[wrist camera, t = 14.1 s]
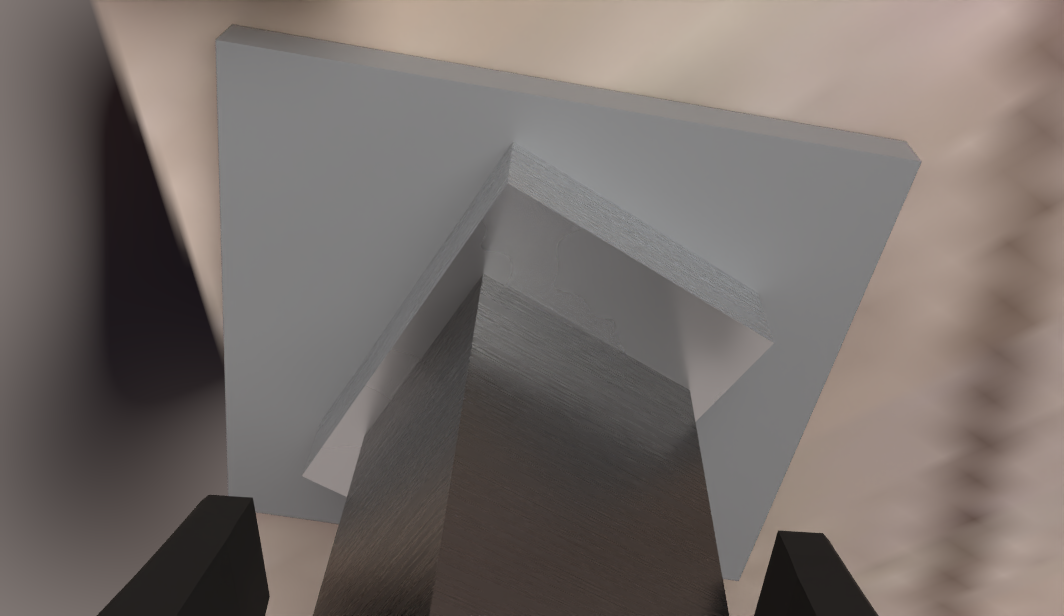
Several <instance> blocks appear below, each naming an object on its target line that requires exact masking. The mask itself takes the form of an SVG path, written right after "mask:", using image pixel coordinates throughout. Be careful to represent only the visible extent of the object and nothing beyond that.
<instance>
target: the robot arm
mask: <svg viewBox="0 0 1064 616" xmlns="http://www.w3.org/2000/svg"><path fill="white" fill-rule="evenodd" d="M269 597H270V596H269V590H268V584H267V578H266V572H265V566H264V560H263V554H262V548H261V542H260V537H259V531H258V525H257V519H256V513H255V507H254V501H253V498H251V497H236V496H219V495H208V496H207V497H206V498H204V499H203V500H202V501H201V502H200V503H199V504H198V505H197V507H196V508H195V509H194V510H193V511H192V512H191V514H190V515H189V516H188V517H187V518H186V519H185V521H184V522H183V523H182V524H181V525H180V526H179V527H178V528H177V530H176V531H175V532H174V533H173V534H172V535H171V536H170V538H169V539H168V540H167V541H166V542H165V543H164V544H163V545H162V546H161V547H160V549H159V550H158V551H157V552H156V553H155V554H154V555H153V556H152V557H151V559H150V560H149V561H148V562H147V563H146V564H145V565H144V566H143V567H142V568H141V570H140V571H139V572H138V573H137V574H136V575H135V576H134V577H133V578H132V579H131V580H130V582H129V583H128V584H127V585H126V586H125V587H124V588H123V589H122V590H121V591H120V592H119V593H118V594H117V595H116V596H115V597H114V598H113V599H112V600H111V601H110V603H109V604H108V605H107V606H106V607H105V608H104V609H103V610H102V611H101V612H100V613H99V614H98V615H97V616H265V613H266V609H267V605H268V601H269ZM754 616H878V614H877V613H876V611H875V610H874V608H873V607H872V606H871V604H870V603H869V601H868V600H867V598H866V597H865V595H864V594H863V592H862V591H861V589H860V588H859V586H858V585H857V583H856V582H855V580H854V578H853V577H852V575H851V574H850V572H849V571H848V569H847V568H846V566H845V565H844V563H843V561H842V560H841V558H840V557H839V555H838V554H837V552H836V551H835V549H834V547H833V546H832V544H831V543H830V541H829V540H828V539H827V538H826V536H825V535H824V534H823V533H808V532H792V531H778V533H777V536H776V540H775V544H774V547H773V551H772V554H771V558H770V561H769V565H768V568H767V572H766V576H765V579H764V583H763V586H762V590H761V593H760V597H759V600H758V604H757V607H756V611H755V615H754Z"/></svg>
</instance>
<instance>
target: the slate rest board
mask: <svg viewBox="0 0 1064 616" xmlns="http://www.w3.org/2000/svg"><path fill="white" fill-rule="evenodd" d="M216 75H217V111H218V147H219V184H220V220H221V256H222V292H223V329H224V365H225V398H226V400H225V401H226V435H227V436H226V437H227V472H228V496H236V497H251V498H253V501H254V507H255V512H257V513H264V514H271V515H278V516H285V517H292V518H299V519H306V520H314V521H321V522H328V523H335V524H339V523H340V519H341V516H342V512H343V509H344V505H345V502H346V498H347V497H346V496H344V495H341V494H339V493H337V492H335V491H333V490H331V489H328V488H326V487H324V486H322V485H320V484H318V483H316V482H313V481H311V480H309V479H307V478H305V477H303V476H302V474H303V471H304V468H305V466H306V463H307V460H308V457H309V454H310V451H311V449H312V446H313V443H314V440H315V437H316V434H317V432H318V429H319V426H320V423H321V421H322V420H323V418H324V417H325V415H326V414H327V412H328V411H329V409H330V408H331V406H332V405H333V404H334V402H335V401H336V399H337V398H338V396H339V395H340V393H341V392H342V390H343V389H344V388H345V386H346V385H347V383H348V382H349V380H350V379H351V377H352V376H353V374H354V373H355V372H356V370H357V369H358V367H359V366H360V364H361V363H362V361H363V360H364V358H365V357H366V355H367V354H368V353H369V351H370V350H371V348H372V347H373V345H374V344H375V342H376V341H377V339H378V338H379V337H380V335H381V334H382V332H383V331H384V329H385V328H386V326H387V325H388V323H389V322H390V321H391V319H392V318H393V316H394V315H395V313H396V312H397V310H398V309H399V307H400V306H401V304H402V303H403V302H404V300H405V299H406V297H407V296H408V294H409V293H410V291H411V290H412V288H413V287H414V286H415V284H416V283H417V281H418V280H419V278H420V277H421V275H422V274H423V272H424V271H425V269H426V268H427V267H428V265H429V264H430V262H431V261H432V259H433V258H434V256H435V255H436V253H437V252H438V251H439V249H440V248H441V246H442V245H443V243H444V242H445V240H446V239H447V237H448V236H449V235H450V233H451V232H452V230H453V229H454V227H455V226H456V224H457V223H458V221H459V220H460V218H461V217H462V216H463V214H464V213H465V211H466V210H467V208H468V207H469V205H470V204H471V202H472V201H473V200H474V198H475V197H476V195H477V194H478V192H479V191H480V189H481V188H482V186H483V185H484V183H485V182H486V181H487V179H488V178H489V176H490V175H491V173H492V172H493V170H494V169H495V167H496V166H497V165H498V163H499V162H500V160H501V159H502V157H503V156H504V154H505V153H506V151H507V150H508V149H509V147H510V146H511V144H512V143H513V142H515V143H516V144H518V145H520V146H521V147H523V148H524V149H526V150H528V151H529V152H531V153H533V154H534V155H536V156H537V157H539V158H541V159H542V160H544V161H546V162H547V163H549V164H550V165H552V166H554V167H555V168H557V169H558V170H560V171H562V172H563V173H565V174H567V175H568V176H570V177H571V178H573V179H575V180H576V181H578V182H580V183H581V184H583V185H584V186H586V187H588V188H589V189H591V190H592V191H594V192H596V193H597V194H599V195H601V196H602V197H604V198H605V199H607V200H609V201H610V202H612V203H614V204H615V205H617V206H618V207H620V208H622V209H623V210H625V211H626V212H628V213H630V214H631V215H633V216H635V217H636V218H638V219H639V220H641V221H643V222H644V223H646V224H648V225H649V226H651V227H652V228H654V229H656V230H657V231H659V232H660V233H662V234H664V235H665V236H667V237H669V238H670V239H672V240H673V241H675V242H677V243H678V244H680V245H682V246H683V247H685V248H686V249H688V250H690V251H691V252H693V253H694V254H696V255H698V256H699V257H701V258H703V259H704V260H706V261H707V262H709V263H711V264H712V265H714V266H716V267H717V268H719V269H720V270H722V271H724V272H725V273H727V274H728V275H730V276H732V277H733V278H735V279H737V280H738V281H740V282H741V283H743V284H745V285H746V286H748V287H750V288H751V289H753V290H754V291H756V292H758V294H759V298H760V301H761V304H762V307H763V310H764V313H765V316H766V320H767V323H768V326H769V329H770V332H771V335H772V338H773V341H774V344H773V345H772V346H771V347H770V348H769V349H768V350H767V351H766V352H765V353H764V354H763V355H762V356H761V357H760V358H759V359H758V360H757V361H756V362H755V363H754V364H753V365H752V366H751V367H750V368H749V369H748V370H747V371H746V372H745V373H744V374H743V375H742V376H741V377H740V378H739V379H738V380H737V381H736V382H735V383H734V384H733V385H732V386H731V387H730V388H729V389H728V390H727V391H726V392H725V393H724V394H723V395H722V396H721V397H720V398H719V399H718V400H717V401H716V402H715V403H714V404H713V405H712V406H711V407H710V408H709V409H708V410H707V411H706V412H705V413H704V414H703V415H702V416H701V417H700V418H699V419H698V420H697V421H696V428H697V434H698V440H699V445H700V451H701V457H702V463H703V468H704V474H705V480H706V486H707V491H708V497H709V503H710V509H711V515H712V520H713V526H714V532H715V538H716V543H717V549H718V555H719V561H720V566H721V572H722V578H723V579H728V580H735V581H739V579H740V577H741V574H742V572H743V570H744V568H745V565H746V563H747V561H748V558H749V556H750V554H751V551H752V549H753V547H754V545H755V542H756V540H757V538H758V535H759V533H760V531H761V529H762V526H763V524H764V522H765V519H766V517H767V515H768V513H769V510H770V508H771V506H772V503H773V501H774V499H775V496H776V494H777V492H778V490H779V487H780V485H781V483H782V480H783V478H784V476H785V474H786V471H787V469H788V467H789V464H790V462H791V460H792V458H793V455H794V453H795V451H796V448H797V446H798V444H799V442H800V439H801V437H802V435H803V432H804V430H805V428H806V425H807V423H808V421H809V419H810V416H811V414H812V412H813V409H814V407H815V405H816V403H817V400H818V398H819V396H820V393H821V391H822V389H823V387H824V384H825V382H826V380H827V377H828V375H829V373H830V370H831V368H832V366H833V364H834V361H835V359H836V357H837V354H838V352H839V350H840V348H841V345H842V343H843V341H844V338H845V336H846V334H847V332H848V329H849V327H850V325H851V322H852V320H853V318H854V316H855V313H856V311H857V309H858V306H859V304H860V302H861V299H862V297H863V295H864V293H865V290H866V288H867V286H868V283H869V281H870V279H871V277H872V274H873V272H874V270H875V267H876V265H877V263H878V261H879V258H880V256H881V254H882V251H883V249H884V247H885V244H886V242H887V240H888V238H889V235H890V233H891V231H892V228H893V226H894V224H895V222H896V219H897V217H898V215H899V212H900V210H901V208H902V206H903V203H904V201H905V199H906V196H907V194H908V192H909V189H910V187H911V185H912V183H913V180H914V178H915V176H916V173H917V171H918V169H919V167H920V164H921V160H920V159H919V158H918V156H917V155H916V154H915V152H914V151H913V150H912V149H911V147H910V146H909V145H908V143H907V142H906V141H900V140H894V139H889V138H883V137H877V136H871V135H866V134H860V133H854V132H848V131H843V130H837V129H831V128H825V127H820V126H814V125H808V124H802V123H797V122H791V121H785V120H779V119H774V118H768V117H762V116H756V115H750V114H745V113H739V112H733V111H727V110H722V109H716V108H710V107H704V106H699V105H693V104H687V103H681V102H676V101H670V100H664V99H658V98H653V97H647V96H641V95H635V94H630V93H624V92H618V91H612V90H607V89H601V88H595V87H589V86H584V85H578V84H572V83H566V82H561V81H555V80H549V79H543V78H537V77H532V76H526V75H520V74H514V73H509V72H503V71H497V70H491V69H486V68H480V67H474V66H468V65H463V64H457V63H451V62H445V61H440V60H434V59H428V58H422V57H417V56H411V55H405V54H399V53H394V52H388V51H382V50H376V49H371V48H365V47H359V46H353V45H348V44H342V43H336V42H330V41H325V40H319V39H313V38H307V37H301V36H296V35H290V34H284V33H278V32H273V31H267V30H261V29H255V28H250V27H244V26H238V25H231V26H230V27H229V28H228V29H227V30H226V31H225V32H224V33H222V34H221V35H220V36H219V37H218V38H217V39H216Z"/></svg>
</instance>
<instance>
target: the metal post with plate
mask: <svg viewBox="0 0 1064 616" xmlns="http://www.w3.org/2000/svg"><path fill="white" fill-rule="evenodd" d="M773 344H774V341H773V338H772V335H771V332H770V329H769V326H768V323H767V320H766V316H765V313H764V310H763V307H762V304H761V301H760V298H759V294H758V292H756V291H754V290H753V289H751V288H750V287H748V286H746V285H745V284H743V283H741V282H740V281H738V280H737V279H735V278H733V277H732V276H730V275H728V274H727V273H725V272H724V271H722V270H720V269H719V268H717V267H716V266H714V265H712V264H711V263H709V262H707V261H706V260H704V259H703V258H701V257H699V256H698V255H696V254H694V253H693V252H691V251H690V250H688V249H686V248H685V247H683V246H682V245H680V244H678V243H677V242H675V241H673V240H672V239H670V238H669V237H667V236H665V235H664V234H662V233H660V232H659V231H657V230H656V229H654V228H652V227H651V226H649V225H648V224H646V223H644V222H643V221H641V220H639V219H638V218H636V217H635V216H633V215H631V214H630V213H628V212H626V211H625V210H623V209H622V208H620V207H618V206H617V205H615V204H614V203H612V202H610V201H609V200H607V199H605V198H604V197H602V196H601V195H599V194H597V193H596V192H594V191H592V190H591V189H589V188H588V187H586V186H584V185H583V184H581V183H580V182H578V181H576V180H575V179H573V178H571V177H570V176H568V175H567V174H565V173H563V172H562V171H560V170H558V169H557V168H555V167H554V166H552V165H550V164H549V163H547V162H546V161H544V160H542V159H541V158H539V157H537V156H536V155H534V154H533V153H531V152H529V151H528V150H526V149H524V148H523V147H521V146H520V145H518V144H516V143H515V142H513V143H512V144H511V146H510V147H509V149H508V150H507V151H506V153H505V154H504V156H503V157H502V159H501V160H500V162H499V163H498V165H497V166H496V167H495V169H494V170H493V172H492V173H491V175H490V176H489V178H488V179H487V181H486V182H485V183H484V185H483V186H482V188H481V189H480V191H479V192H478V194H477V195H476V197H475V198H474V200H473V201H472V202H471V204H470V205H469V207H468V208H467V210H466V211H465V213H464V214H463V216H462V217H461V218H460V220H459V221H458V223H457V224H456V226H455V227H454V229H453V230H452V232H451V233H450V235H449V236H448V237H447V239H446V240H445V242H444V243H443V245H442V246H441V248H440V249H439V251H438V252H437V253H436V255H435V256H434V258H433V259H432V261H431V262H430V264H429V265H428V267H427V268H426V269H425V271H424V272H423V274H422V275H421V277H420V278H419V280H418V281H417V283H416V284H415V286H414V287H413V288H412V290H411V291H410V293H409V294H408V296H407V297H406V299H405V300H404V302H403V303H402V304H401V306H400V307H399V309H398V310H397V312H396V313H395V315H394V316H393V318H392V319H391V321H390V322H389V323H388V325H387V326H386V328H385V329H384V331H383V332H382V334H381V335H380V337H379V338H378V339H377V341H376V342H375V344H374V345H373V347H372V348H371V350H370V351H369V353H368V354H367V355H366V357H365V358H364V360H363V361H362V363H361V364H360V366H359V367H358V369H357V370H356V372H355V373H354V374H353V376H352V377H351V379H350V380H349V382H348V383H347V385H346V386H345V388H344V389H343V390H342V392H341V393H340V395H339V396H338V398H337V399H336V401H335V402H334V404H333V405H332V406H331V408H330V409H329V411H328V412H327V414H326V415H325V417H324V418H323V420H322V421H321V423H320V426H319V429H318V432H317V434H316V437H315V440H314V443H313V446H312V449H311V451H310V454H309V457H308V460H307V463H306V466H305V468H304V471H303V474H302V476H303V477H305V478H307V479H309V480H311V481H313V482H316V483H318V484H320V485H322V486H324V487H326V488H328V489H331V490H333V491H335V492H337V493H339V494H341V495H344V496H346V497H347V498H346V502H345V505H344V509H343V512H342V516H341V519H340V523H339V526H338V530H337V533H336V537H335V540H334V544H333V547H332V551H331V554H330V558H329V561H328V565H327V568H326V572H325V575H324V579H323V582H322V586H321V589H320V593H319V596H318V600H317V603H316V607H315V610H314V614H313V616H729V613H728V607H727V601H726V595H725V590H724V584H723V578H722V572H721V566H720V561H719V555H718V549H717V543H716V538H715V532H714V526H713V520H712V515H711V509H710V503H709V497H708V491H707V486H706V480H705V474H704V468H703V463H702V457H701V451H700V445H699V440H698V434H697V428H696V421H697V420H698V419H699V418H700V417H701V416H702V415H703V414H704V413H705V412H706V411H707V410H708V409H709V408H710V407H711V406H712V405H713V404H714V403H715V402H716V401H717V400H718V399H719V398H720V397H721V396H722V395H723V394H724V393H725V392H726V391H727V390H728V389H729V388H730V387H731V386H732V385H733V384H734V383H735V382H736V381H737V380H738V379H739V378H740V377H741V376H742V375H743V374H744V373H745V372H746V371H747V370H748V369H749V368H750V367H751V366H752V365H753V364H754V363H755V362H756V361H757V360H758V359H759V358H760V357H761V356H762V355H763V354H764V353H765V352H766V351H767V350H768V349H769V348H770V347H771V346H772V345H773Z"/></svg>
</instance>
